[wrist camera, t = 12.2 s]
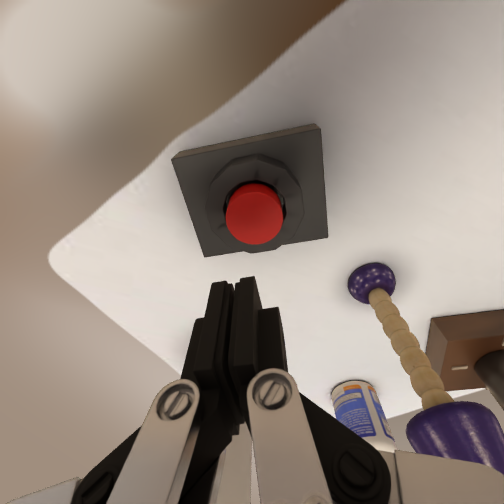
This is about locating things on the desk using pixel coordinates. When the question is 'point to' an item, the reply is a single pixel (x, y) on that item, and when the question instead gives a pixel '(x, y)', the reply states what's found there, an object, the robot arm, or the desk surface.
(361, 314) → the desk surface
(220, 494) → the travel mug
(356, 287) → the toy lamp
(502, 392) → the dimmer knob
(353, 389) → the pill bottle
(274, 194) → the button
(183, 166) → the switch block
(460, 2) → the desk surface
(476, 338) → the dimmer panel
